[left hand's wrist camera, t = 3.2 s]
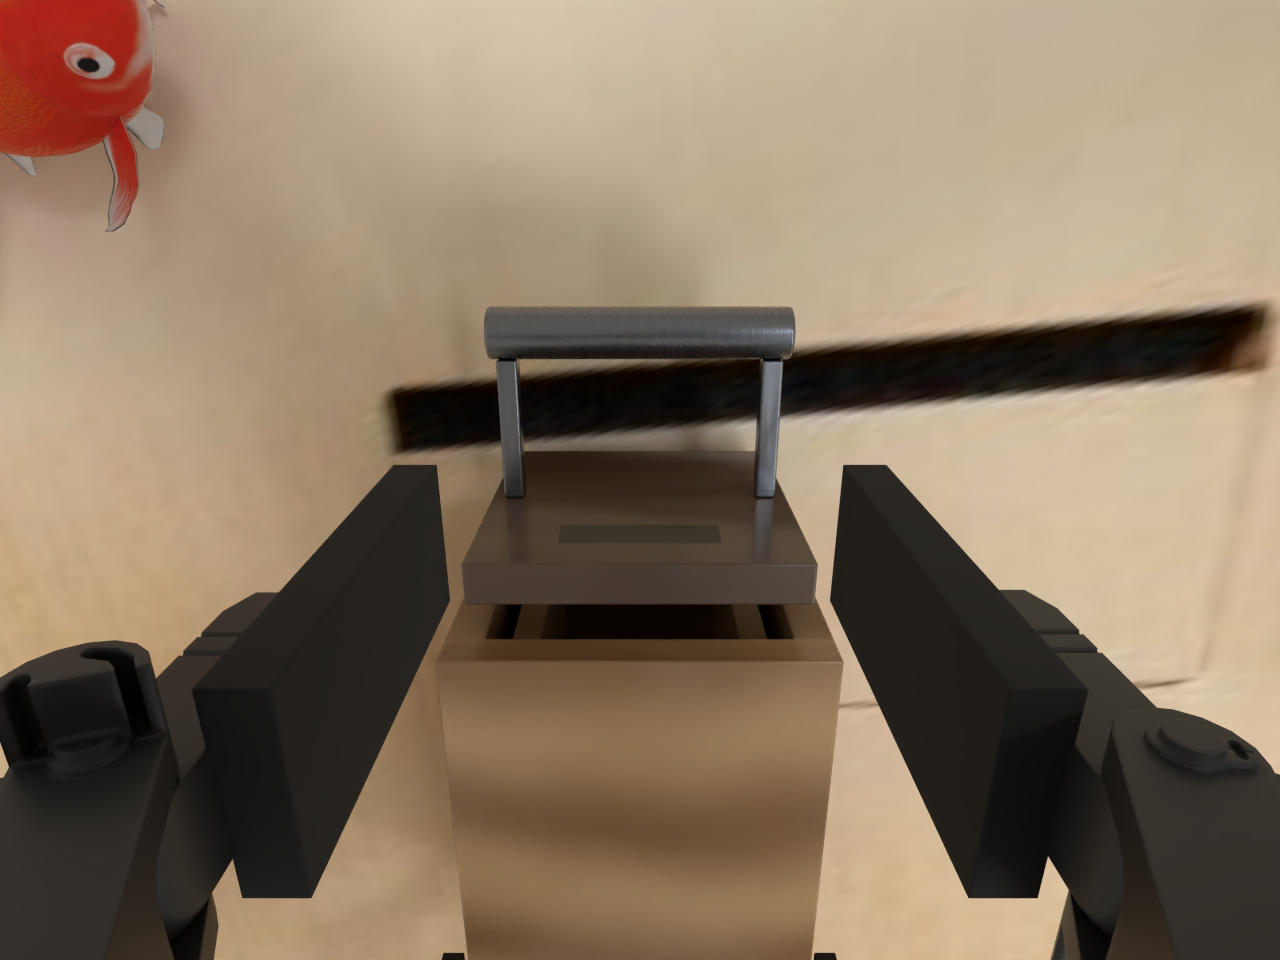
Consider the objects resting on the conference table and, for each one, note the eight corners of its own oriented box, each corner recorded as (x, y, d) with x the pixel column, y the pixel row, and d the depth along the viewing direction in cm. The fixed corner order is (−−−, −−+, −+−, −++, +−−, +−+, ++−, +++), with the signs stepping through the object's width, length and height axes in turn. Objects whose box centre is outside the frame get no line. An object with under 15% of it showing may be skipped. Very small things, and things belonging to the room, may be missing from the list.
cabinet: (507, 496, 30) (434, 661, 19) (772, 496, 30) (844, 661, 19) (532, 890, 37) (490, 1166, 26) (746, 889, 37) (789, 1166, 26)
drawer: (505, 289, 26) (440, 336, 17) (774, 289, 26) (839, 336, 17) (539, 849, 34) (506, 1064, 26) (740, 849, 34) (773, 1064, 26)
